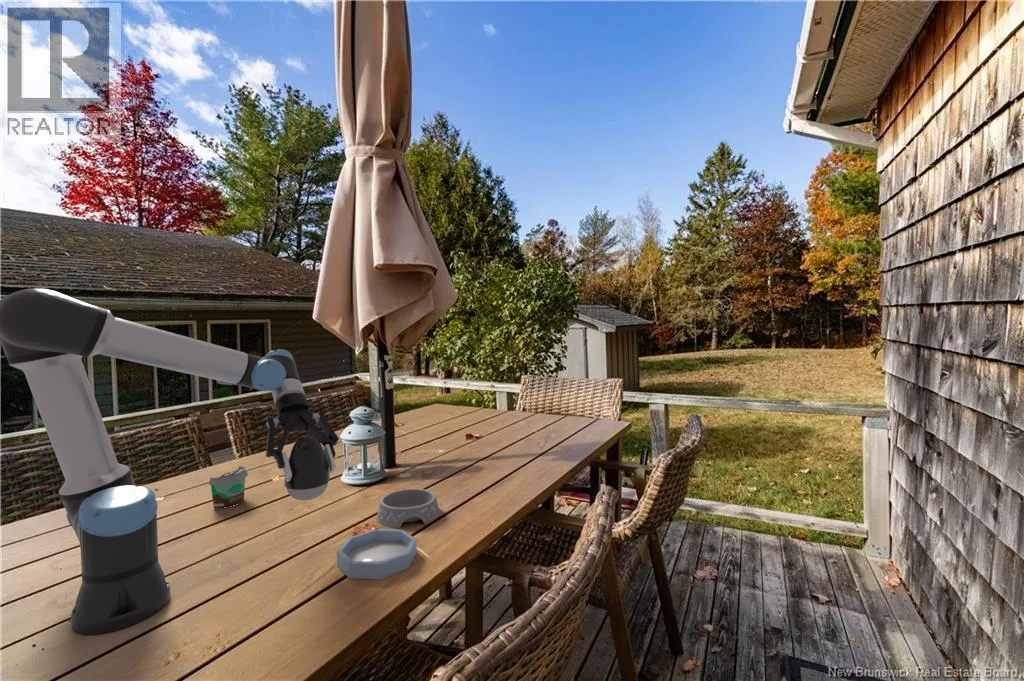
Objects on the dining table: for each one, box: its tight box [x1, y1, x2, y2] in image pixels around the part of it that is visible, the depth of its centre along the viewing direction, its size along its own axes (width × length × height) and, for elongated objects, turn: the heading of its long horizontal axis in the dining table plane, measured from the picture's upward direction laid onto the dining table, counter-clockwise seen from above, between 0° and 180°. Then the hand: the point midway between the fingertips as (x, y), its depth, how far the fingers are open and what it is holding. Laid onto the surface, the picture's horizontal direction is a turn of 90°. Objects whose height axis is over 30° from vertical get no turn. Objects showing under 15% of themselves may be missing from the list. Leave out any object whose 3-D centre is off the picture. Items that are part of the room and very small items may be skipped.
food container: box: [208, 465, 249, 509], centre depth 146 cm, size 12×6×10 cm, turn 168°
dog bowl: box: [376, 488, 441, 529], centre depth 138 cm, size 17×18×5 cm
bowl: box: [336, 528, 417, 580], centre depth 112 cm, size 17×17×4 cm
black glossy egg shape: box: [284, 434, 331, 501], centre depth 114 cm, size 10×10×15 cm
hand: (311, 473), depth 112 cm, fingers closed on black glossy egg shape, 9 cm apart
